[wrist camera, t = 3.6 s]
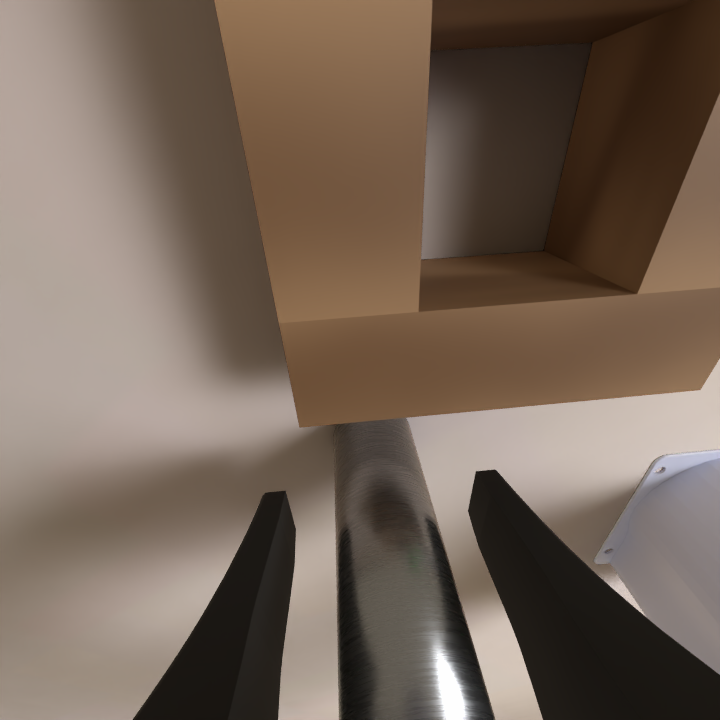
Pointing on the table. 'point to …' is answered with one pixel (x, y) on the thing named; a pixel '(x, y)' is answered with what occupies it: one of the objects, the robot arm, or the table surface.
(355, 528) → the metal peg
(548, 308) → the square wooden ring
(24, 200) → the table surface
